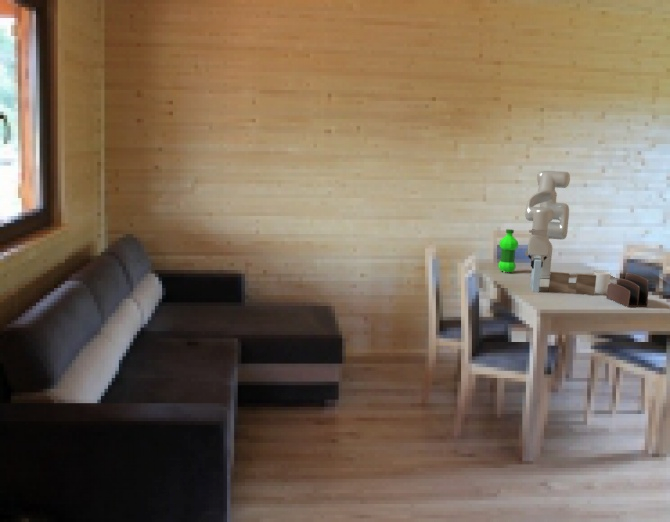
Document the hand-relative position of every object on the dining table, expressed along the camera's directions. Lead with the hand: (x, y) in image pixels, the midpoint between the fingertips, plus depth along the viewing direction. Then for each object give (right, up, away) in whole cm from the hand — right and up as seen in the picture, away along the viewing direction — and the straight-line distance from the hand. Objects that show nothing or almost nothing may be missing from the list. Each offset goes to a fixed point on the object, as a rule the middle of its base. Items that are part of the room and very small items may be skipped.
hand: (536, 268), depth 361 cm
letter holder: (+37, -17, -21) cm, 46 cm away
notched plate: (0, -11, +2) cm, 11 cm away
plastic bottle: (-4, -3, +49) cm, 49 cm away
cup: (+34, -12, +5) cm, 36 cm away
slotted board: (+17, -13, -3) cm, 21 cm away
